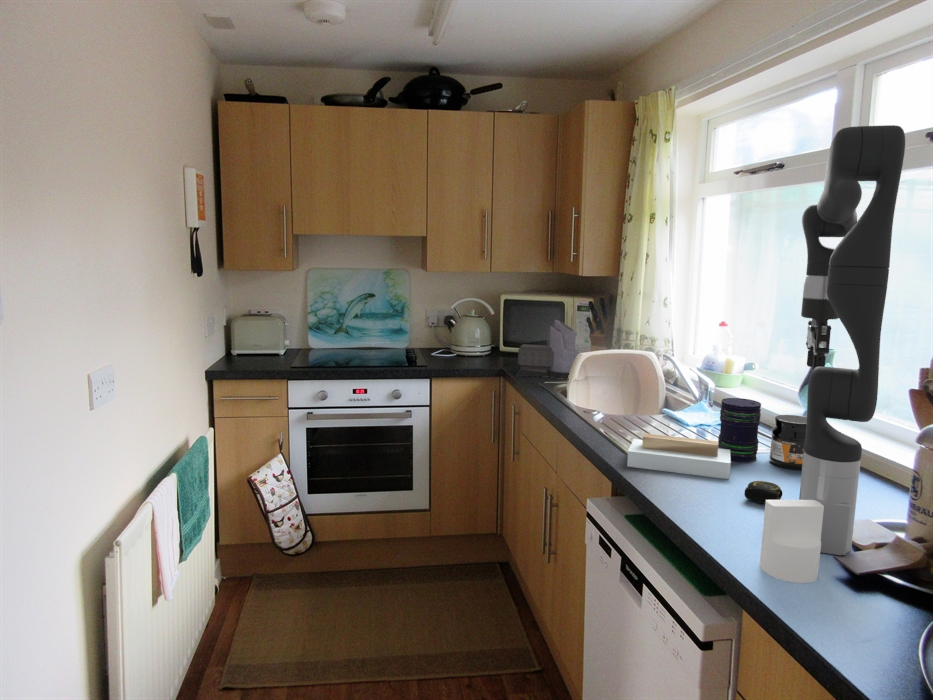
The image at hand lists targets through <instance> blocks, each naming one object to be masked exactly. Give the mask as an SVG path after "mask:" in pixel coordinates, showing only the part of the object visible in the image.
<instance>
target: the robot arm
mask: <svg viewBox="0 0 933 700" xmlns="http://www.w3.org/2000/svg"><path fill="white" fill-rule="evenodd" d="M905 150H906V134H905V131H904V129H903V127H902V126H899V125H891V124H890V125H889V124H888V125H884V124H883V125H859V126H848V127H843V128H841V129H839V130H838V131H837V132H836V133H835V135H833V138H832V140H831V143H830V145H829V150H828V156H827V160H826V167H825V173H824V174H825V175H824V185H823V190H822V192H821V195H820V197H819V200H818V202H817V204H816V203H815V204H811V205H809V206H808V207H806V209H804V212H803V214H802V217H801V224H802V226H801V227H802V229H803V234H804V238H805V242H806V243H805V244H806V251H807V252H806V253H807V262H806V264H807V265H806V273H805V280H804V283H803V289H802V291H803V292H802V301H801V303H802V304H801V312H800V313H801V314H800V315H801V317H802V318H803V319H804V318H805V319H811V320H808V322H807V324H808V325H807V335H806V342H805V345H806V349H807V357H806V358H807V359H806V366H807V367H809V368H812V371H811V373H810V374H809V379H808V383H807V396H806V397H807V400H806V401H807V402H806V405H807V407H806V408H807V409H806V417H807V424H806V435H805V444H804V454H803V465H802V470H801V478H800V486H799V487H800V489H799V495H798V496H799V498H798V500H816V501H818V502H820V503H821V504H822V505H823V506H824V511H823V521H822V531H821V550H820V553H823V554H829V555H836V556H841V555H845V554H846V555H847V554H848V553H849V552H851V551H852V545H853V537H854V536H853V535H854V525H855V519H856V518H855V517H856V516H855V515H856V506H857V498H858V497H857V496H858V488H859V479H860V477H859V476H860V469H861V462H862V461H861V460H862V453H863V451H862V450H863V448H862V444H861V443H860V442H859V441H858V440H857V439H855V438H854V437H851V436H849V435H847V434H844V433H843V432H841V431H840V430H837V429H836V428H835V427H833V426H832V425H831V424H830V423H829V422H828V421H827V419H834V420H843V421H848V422H849V421H851V422H857V423H858V422H859V423H868V422H870V421H871V420H872V418H873V417H874V415H875V412H876V409H877V403H878V394H879V377H880V376H879V375H880V372H879V371H880V351H881V350H880V349H881V334H882V325H883V319H884V311H885V305H886V299H887V298H886V297H887V293H888V292H887V290H888V282H889V273H890V266H891V265H890V264H891V250H892V249H891V248H892V237H893V236H892V235H893V227H894V226H893V225H894V218H895V217H894V216H895V210H896V204H897V198H898V192H899V187H900V181H901V176H902V170H903V166H904V165H903V164H904V158H905ZM859 182H875V189H874V192H873V194H872V197H871V200H870V202H869V204H868V205H867V207H866V208H865V210H864V211H863V213H862V215H860V217H859V219H858V214H857V208H858V206H859V204H860V201H862V195H863V193H862V187H861V185H860V183H859ZM820 238H842V239H841V240H840V241H839V243H838V244H837V245H836V247H835V248H834V247H828V246H826V245H823V244H822V243H821V240H820ZM838 319H839V320H840V322H841V323H842V325H843V326H844V329H845V330H846V332H847V334H848V336H849V338H850V340H851V343H852V345H853V346H854V350H855V352H856V355H857V359H858V360H857V361H858V368H857V369H855V368H854V369H852V368H846V367H833V366H832V367H831V366H825V365H826V357H827V355H828V354H830V341H831V330H832V327H831V325H828V321H829V320H838Z"/></svg>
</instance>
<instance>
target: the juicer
mask: <svg viewBox="0 0 933 700" xmlns="http://www.w3.org/2000/svg"><path fill="white" fill-rule="evenodd" d="M577 335H578V334H577V332H576V331H575V330H574V329H573V328H571V327H570V326H568V325H567V324H566V323H564V322H562V321H560V320H558V319H554V325H553V326H552V325H551V326H550V329H549V345H548V344H547V345H546V344H526V343H523V344H521V345H520V347H519V348H518V351H517V356H518V357H517V364H518V365H519V367H520V368H519V369H518V371H517V372H516V374H515V375H524V376H549V377H554V378H563V379H567V378H568V375H569V371H570V368H571V366H572V364H573V362H574V360H575V358H576V356H577V355H578V354H580V352H579V351H578V350H576V337H577Z"/></svg>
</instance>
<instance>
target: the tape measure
mask: <svg viewBox="0 0 933 700" xmlns="http://www.w3.org/2000/svg"><path fill="white" fill-rule="evenodd" d="M743 494H744V497H745V498H746V499H747V500H750V501H753V502H757V503H759V502H760V503H759V504H765V501H766V500H782V497H783V491H782V489H781V487H780V486H779V485H778V484H776V483H774V482H769V481H765V480H764V481H763V480H754V481H751V482H749V483H748V484H747V487H745V489H744V493H743Z"/></svg>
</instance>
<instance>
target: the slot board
mask: <svg viewBox="0 0 933 700" xmlns="http://www.w3.org/2000/svg"><path fill="white" fill-rule="evenodd" d="M642 442H643V439H638V438H637V439H636V438H633V440H632V441H631V444H630V446H629V447H628V450H627V465H626V467H630V468H636V469H637V468H638V469H643V470H644V469H645V470H651V471H652V470H653V471H661V472H669V473H678V474H684V475H691V474H692V475H691V476H693V475H694V476H701V477H707V478H716V479H722V480H723V479H725V480H730V477H731V476H730V475H731V467H732V466H731V463H732V461H731V458H730V450H729V449H720V448H718V455H717V457H714V456H705V455H697V454H689V453H680V452H672V451H663V450H653V449H646V448H642Z"/></svg>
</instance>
